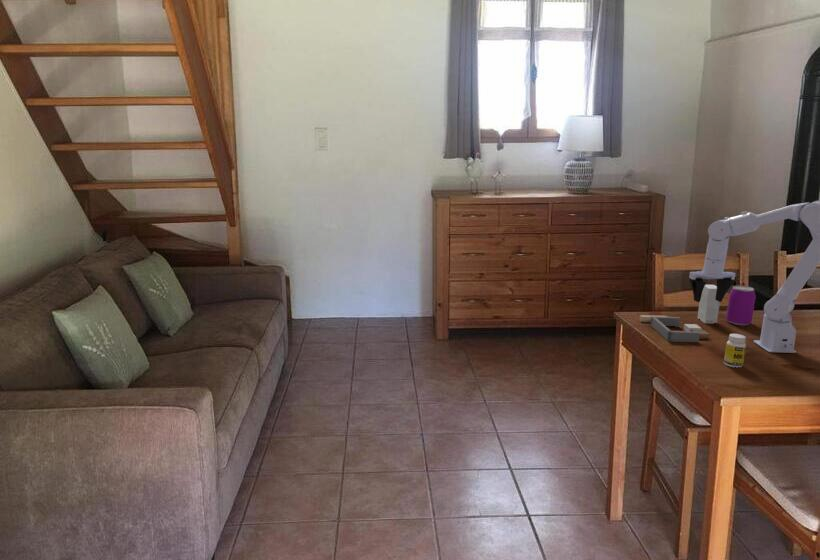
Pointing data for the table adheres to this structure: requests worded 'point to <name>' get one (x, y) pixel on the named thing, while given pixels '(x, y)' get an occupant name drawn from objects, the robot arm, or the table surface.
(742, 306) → the beverage can
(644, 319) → the scraper
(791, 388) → the table surface
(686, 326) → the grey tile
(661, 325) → the box
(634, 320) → the table surface
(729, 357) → the supplement bottle
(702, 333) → the walnut tile
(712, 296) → the skincare box
